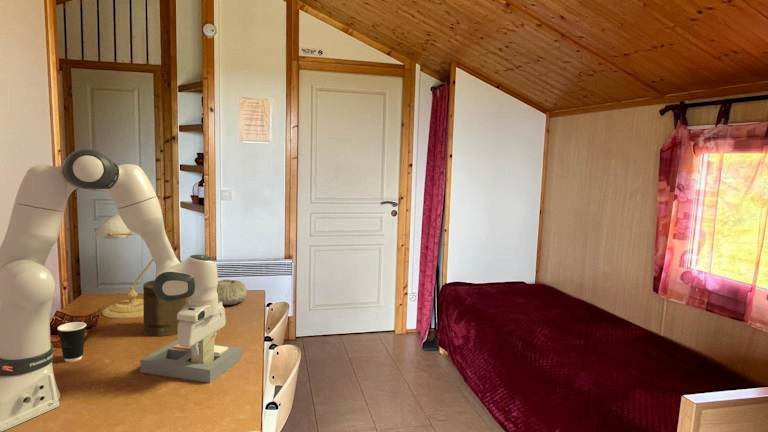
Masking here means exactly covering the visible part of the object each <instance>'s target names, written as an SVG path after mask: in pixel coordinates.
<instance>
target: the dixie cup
mask: <svg viewBox="0 0 768 432" xmlns="http://www.w3.org/2000/svg"><path fill="white" fill-rule="evenodd" d="M86 327H87V323H85V322H81V321H74V322H67V323H63V324H60V325H59V326H58V327H57V329H56V330H57V331H58V336H59V341H60V346H61V352H62V356H63V359H64V361H65V363H67V362H68V363H69V362H71V363H72V362H76V361H77V362H78V361H80V360H81V359H82V358H83V354H84V349H85V348H84V347H85V338H86V337H85V335H86Z"/></svg>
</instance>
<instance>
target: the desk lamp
mask: <svg viewBox="0 0 768 432" xmlns="http://www.w3.org/2000/svg"><path fill="white" fill-rule="evenodd" d="M134 234H135V233H134V232H132V231H130V230H129V229H128V228H127V226H126V225H125V224H124V222H123V221H122V219H121V217H120V215H119V214H116V215H113V216H111V217H110V218H109V219H107V220H105V221H104V222H103V223H101V224H100V225H99V226H98V227H97V229H96V230H95V232H94V234H93V236H92V239H95V240H97V239H98V240H102V239H104V240H105V239H124V238H125V239H126V238H128V237H129V236H133V235H134ZM121 242H122V240H121ZM153 262H154V259H153V258H152V259H151V260H150V261H149V263H148V264H147V265H146V266H145V268H144V269H143V270H142V271H141V273H140V275H138V277H137V278H136V280H135V281H134V282H133V283H132V284H131V285H130V286H129V291H128V292H126V298H127V299H124V300H120V301H118V302H116V303H114V304H112V305H108V306H107V307H105V308H104V309H103V310H102V312H101V314H102V316H104V317H105V318H108V319H114V320H115V319H118V320H124V319H126V320H128V319H129V320H130V319H136V318H137V319H138V318H142V317H143V318H144V314H143V313H144V312H143V307H144V301H143V298H137V297H138V295H139V294H138V292H137V291H135V288H134V287H135V286H136V284H137V283H138V281H139V280H140V279H141V277H143V275H144V274H145V273H146V271H147V270H148V268H149V267H150V266H151V265H152V263H153ZM123 270H124V268H123V266H122V267H121V271H123Z"/></svg>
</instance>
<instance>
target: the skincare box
mask: <svg viewBox="0 0 768 432" xmlns="http://www.w3.org/2000/svg"><path fill="white" fill-rule="evenodd" d="M214 344H215V340H214V333H212V334H210V335H208V336H207V337H205V338H204V339H203V340H201V341H199V345H197V346H198V348H199V349H200V352H201V353H200V354H199V355H198V356H194V355H193V351H192V349H191V362H194V363H201V364H208V365H209V364H210V363H212V362H213V361H214Z"/></svg>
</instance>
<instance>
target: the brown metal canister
mask: <svg viewBox="0 0 768 432" xmlns="http://www.w3.org/2000/svg"><path fill="white" fill-rule="evenodd" d="M154 280H155V279H152V280H149V281H147V282H144V283H143V286H142V287H143V295H142V296H143V297H142V299H143V301H144V307H143V312H144V313H143V314H144V316H143V332H144V333H145V334H146V335H147V336H154V337H164V336H165V337H166V336H171V335H176V334H178V323H179V321H180V320H178V319H177V314H178V312H179V311H180V310H181V309H182V308H183V307H184V306H185V305H186V303H187V301H186V300H187V298H184V299H180V300H175V301H164V300H161V299H160V298H158V297H157V296H156V294H155V293H154V290H153V283H154Z"/></svg>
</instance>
